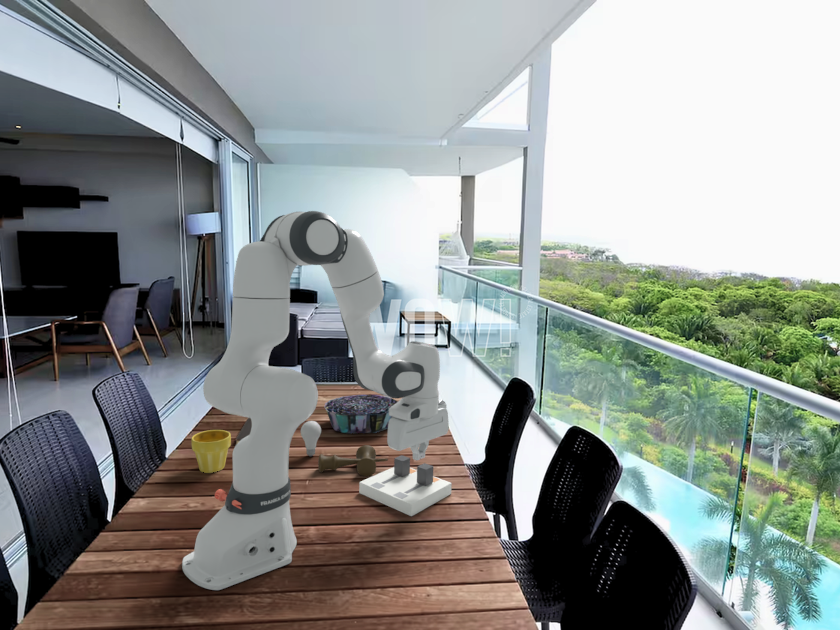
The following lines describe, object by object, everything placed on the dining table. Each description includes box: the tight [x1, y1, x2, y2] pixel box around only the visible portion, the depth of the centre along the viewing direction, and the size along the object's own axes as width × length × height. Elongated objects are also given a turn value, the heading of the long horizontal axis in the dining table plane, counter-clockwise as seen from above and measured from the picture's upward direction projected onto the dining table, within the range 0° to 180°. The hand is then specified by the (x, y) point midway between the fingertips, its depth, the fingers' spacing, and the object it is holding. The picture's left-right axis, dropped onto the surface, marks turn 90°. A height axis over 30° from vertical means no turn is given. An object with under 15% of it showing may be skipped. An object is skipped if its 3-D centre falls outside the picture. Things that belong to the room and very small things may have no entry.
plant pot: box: [191, 429, 232, 474], centre depth 147 cm, size 10×10×10 cm
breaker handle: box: [393, 455, 411, 477], centre depth 139 cm, size 3×3×4 cm
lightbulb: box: [300, 420, 322, 457], centre depth 157 cm, size 6×6×11 cm
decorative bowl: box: [323, 393, 399, 435], centre depth 187 cm, size 26×28×10 cm
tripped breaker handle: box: [416, 462, 434, 486], centre depth 134 cm, size 3×3×4 cm
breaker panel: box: [358, 466, 452, 517], centre depth 134 cm, size 16×18×3 cm
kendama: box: [317, 444, 389, 477], centre depth 148 cm, size 6×10×20 cm
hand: (418, 458), depth 131 cm, fingers closed
